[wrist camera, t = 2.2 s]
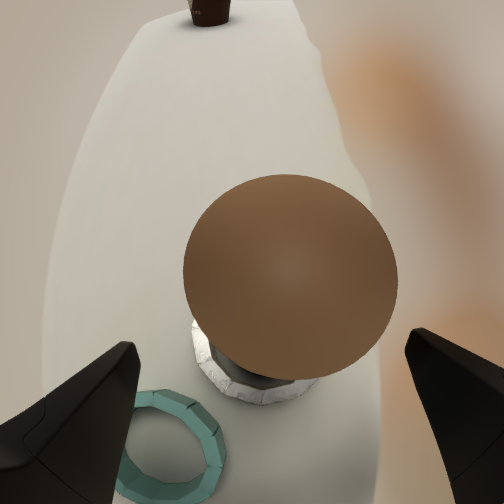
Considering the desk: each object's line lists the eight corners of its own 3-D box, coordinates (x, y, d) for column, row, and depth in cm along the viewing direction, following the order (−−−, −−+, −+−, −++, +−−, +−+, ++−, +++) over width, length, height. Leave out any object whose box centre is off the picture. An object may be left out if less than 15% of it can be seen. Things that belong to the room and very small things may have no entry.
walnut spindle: (303, 364, 17) (421, 340, 5) (234, 379, 16) (204, 402, 4) (287, 299, 18) (355, 166, 7) (220, 312, 18) (174, 191, 6)
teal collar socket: (236, 488, 13) (234, 507, 10) (128, 491, 12) (110, 505, 10) (210, 383, 16) (203, 385, 13) (103, 393, 15) (80, 394, 13)
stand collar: (332, 381, 16) (348, 382, 14) (214, 407, 15) (207, 414, 13) (304, 272, 19) (313, 254, 16) (193, 293, 18) (183, 279, 16)
